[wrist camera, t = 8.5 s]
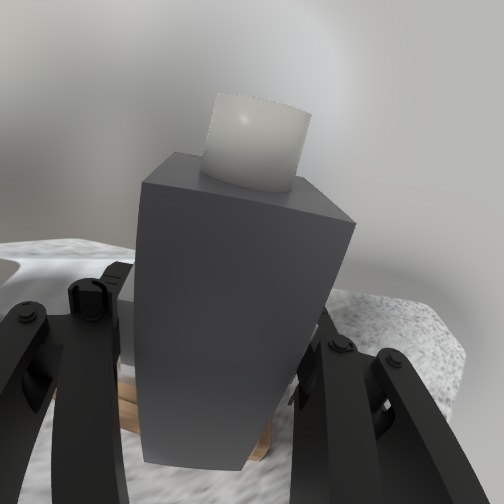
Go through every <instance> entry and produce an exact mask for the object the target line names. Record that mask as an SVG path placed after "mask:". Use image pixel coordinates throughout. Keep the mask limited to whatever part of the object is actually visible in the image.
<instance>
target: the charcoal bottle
mask: <svg viewBox="0 0 504 504" xmlns="http://www.w3.org/2000/svg"><path fill="white" fill-rule="evenodd" d="M310 118H311V114H310V113H307V112H305V111H302V110H300V109H297V108H294V107H291V106H287V105H284V104H280V103H277V102H272V101H268V100H264V99H260V98H255V97H250V96H244V95H238V94H231V93H217V96H216V100H215V104H214V108H213V113H212V117H211V122H210V127H209V131H208V135H207V140H206V145H205V150H204V155H203V156H197V155H191V154H185V153H179V152H174V153H173V154H172V155H171V156H170V157H169V158H168V159H166V160H165V161H164V162H163V163H162V164H161V165H160V166H159V167H158V168H156V169H155V170H154V171H153V172H152V173H151V174H150V175H149V176H148V177H147V178H146V179H145V180H144V181H143V182H142V187H141V196H140V205H139V215H138V226H137V239H136V253H135V273H134V362H135V381H136V396H137V408H138V418H139V427H140V436H141V444H142V451H143V458H144V462H147V463H153V464H160V465H167V466H175V467H184V468H194V469H207V470H226V471H241V470H242V468H243V466H244V465H245V463H246V461H247V460H248V458H249V456H250V455H251V453H252V451H253V449H254V448H255V446H256V444H257V442H258V441H259V439H260V437H261V435H262V433H263V432H264V430H265V428H266V426H267V424H268V422H269V421H270V419H271V417H272V415H273V413H274V411H275V409H276V407H277V406H278V404H279V402H280V400H281V398H282V396H283V394H284V392H285V390H286V388H287V386H288V384H289V382H290V380H291V378H292V376H293V374H294V372H295V370H296V368H297V366H298V363H299V361H300V359H301V357H302V355H303V353H304V351H305V349H306V346H307V344H308V342H309V340H310V338H311V335H312V333H313V331H314V329H315V327H316V324H317V322H318V320H319V317H320V315H321V313H322V310H323V308H324V306H325V303H326V301H327V299H328V296H329V294H330V291H331V289H332V286H333V284H334V281H335V279H336V276H337V274H338V271H339V269H340V266H341V264H342V261H343V259H344V256H345V253H346V251H347V248H348V245H349V243H350V240H351V237H352V234H353V231H354V229H355V226H356V223H355V222H354V221H353V220H352V219H351V218H350V217H349V216H348V215H347V214H345V213H344V212H343V211H342V210H341V209H340V208H338V206H336V205H335V204H334V203H333V202H332V201H331V200H329V199H328V198H327V197H326V196H325V195H324V194H323V193H321V192H320V191H319V190H318V189H317V188H315V187H314V186H313V185H312V184H311V183H310V182H308V181H307V180H306V179H305V178H303V177H299V176H295V175H296V171H297V167H298V163H299V160H300V156H301V152H302V149H303V145H304V141H305V138H306V134H307V130H308V126H309V122H310Z"/></svg>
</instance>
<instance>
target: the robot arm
mask: <svg viewBox="0 0 504 504" xmlns="http://www.w3.org/2000/svg"><path fill="white" fill-rule="evenodd" d="M134 273H135V262H134V264H128V263H123V262H117V261H116V262H114V263H112V264H111V265H109V266H108V267H107V268H106V270H105V271H104V273H103V275H102V276H101V278H100V279H95V278H84V279H80V280H77V281H75V282H74V283H72V284H71V285H70V287H69V288H68V295H69V303H70V311H71V314H68V315H47V313H46V309H45V308H44V306H43V305H41V304H39V303H37V302H32V301H27V302H22V303H19V304H17V305H15V306H14V307H13V308H12V309H11V310H10V311H9V313H8V314H7V315H6V316H5V318H4V319H3V320H2V322H1V323H0V504H17V502H18V498H19V494H20V490H21V487H22V483H23V479H24V476H25V473H26V469H27V466H28V463H29V460H30V456H31V453H32V450H33V447H34V444H35V442H36V439H37V436H38V433H39V430H40V428H41V425H42V422H43V420H44V417H45V414H46V412H47V409H48V407H49V404H50V402H51V400H52V397H53V395H54V392H55V390H56V388H57V390H56V398H55V407H54V417H53V430H52V450H51V488H52V504H130V503H129V497H128V491H127V485H126V478H125V471H124V463H123V454H122V444H121V433H120V420H119V401H118V371H117V362H118V359H119V355H120V363H121V364H123V365H128V366H133V367H135V362H134ZM296 373H297V376H298V380H299V383H298V385H297V387H296V389H295V391H294V393H293V395H292V396H291V398H290V400H289V403H288V405H291V404H292V403H293V401H294V430H293V453H292V472H291V488H290V502H289V504H490V503H489V501H488V499H487V497H486V495H485V493H484V490H483V488H482V486H481V484H480V482H479V480H478V478H477V476H476V474H475V472H474V470H473V469H472V467H471V465H470V463H469V461H468V459H467V457H466V455H465V453H464V452H463V450H462V448H461V446H460V444H459V442H458V441H457V439H456V437H455V435H454V434H453V432H452V430H451V428H450V427H449V425H448V423H447V421H446V420H445V418H444V416H443V415H442V413H441V411H440V409H439V408H438V406H437V404H436V403H435V401H434V399H433V398H432V396H431V395H430V393H429V391H428V390H427V388H426V387H425V385H424V383H423V382H422V380H421V379H420V377H419V375H418V374H417V372H416V371H415V369H414V368H413V366H412V364H411V363H410V361H409V360H408V359H407V357H406V356H405V355H404V354H402V353H401V352H400V351H398V350H396V349H393V348H383V349H381V350H380V351H379V352H378V354H377V356H376V357H374V356H371V355H367V354H363V353H360V352H358V350H357V348H356V346H355V344H354V343H353V342H352V341H351V340H350V339H349V338H347V337H345V336H343V335H340V334H338V332H337V330H336V328H335V326H334V324H333V321H332V319H331V317H330V315H328V311H327V309H326V308H325V306H324V308H323V310H322V313H321V315H320V317H319V320H318V322H317V324H316V327H315V329H314V331H313V333H312V335H311V338H310V340H309V342H308V344H307V346H306V349H305V351H304V353H303V355H302V357H301V359H300V361H299V363H298V366H297V368H296V370H295V372H294V374H293V376H292V378H291V380H290V382H289V384H291V383H292V381H293V379H294V377H295V375H296ZM387 399H388V400H389V402H390V404H391V407H390V408H389V409H388V410H387V409H386V408H385V406H384V403H385V402H386V401H387Z"/></svg>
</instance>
